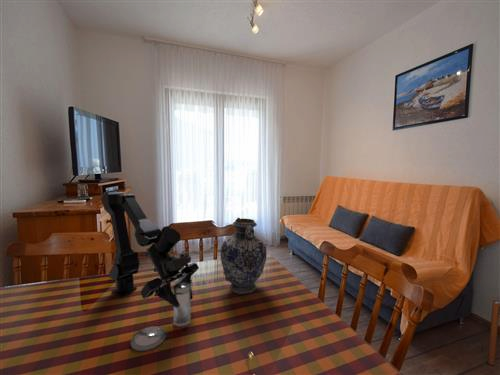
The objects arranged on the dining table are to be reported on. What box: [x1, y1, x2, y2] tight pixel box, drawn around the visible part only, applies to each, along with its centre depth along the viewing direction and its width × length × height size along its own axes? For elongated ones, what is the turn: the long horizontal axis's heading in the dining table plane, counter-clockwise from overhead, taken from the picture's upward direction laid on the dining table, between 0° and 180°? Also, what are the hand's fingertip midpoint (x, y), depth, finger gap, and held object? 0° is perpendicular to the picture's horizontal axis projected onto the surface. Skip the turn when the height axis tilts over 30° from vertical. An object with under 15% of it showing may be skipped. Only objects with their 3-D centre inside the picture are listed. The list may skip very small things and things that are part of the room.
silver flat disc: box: [130, 326, 167, 353], centre depth 65 cm, size 9×9×1 cm
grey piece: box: [172, 282, 192, 328], centre depth 72 cm, size 5×5×12 cm
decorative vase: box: [220, 217, 267, 295], centre depth 93 cm, size 21×19×28 cm
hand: (185, 302), depth 71 cm, fingers closed on grey piece, 5 cm apart
